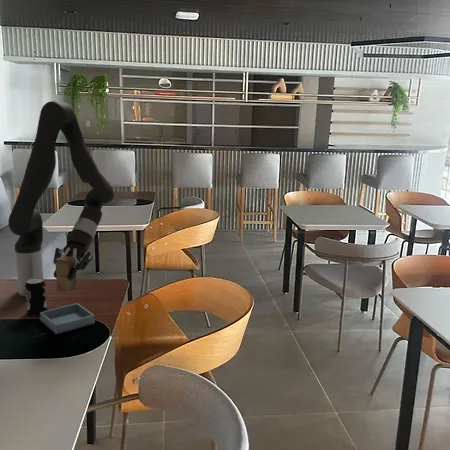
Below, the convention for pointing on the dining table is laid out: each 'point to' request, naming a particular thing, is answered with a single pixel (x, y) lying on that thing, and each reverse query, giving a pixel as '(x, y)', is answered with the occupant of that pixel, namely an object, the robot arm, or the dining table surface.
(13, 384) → the dining table surface
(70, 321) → the box
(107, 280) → the dining table surface
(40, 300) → the beverage can
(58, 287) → the wooden block
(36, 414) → the dining table surface
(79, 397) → the dining table surface
